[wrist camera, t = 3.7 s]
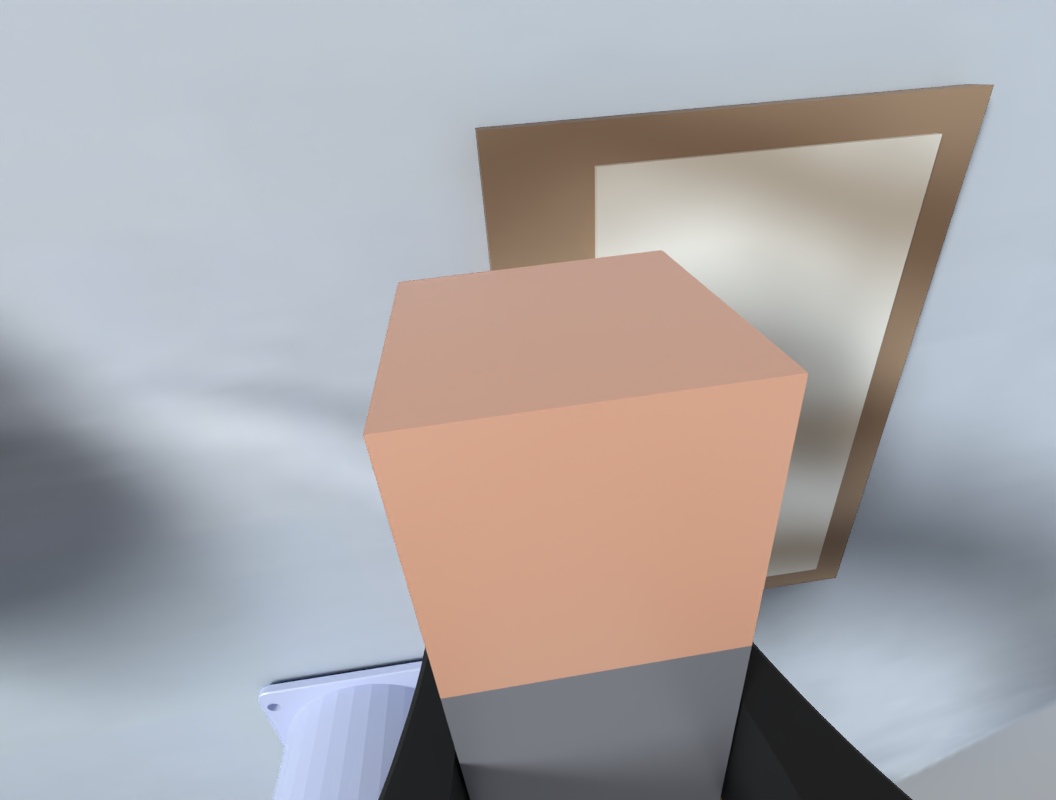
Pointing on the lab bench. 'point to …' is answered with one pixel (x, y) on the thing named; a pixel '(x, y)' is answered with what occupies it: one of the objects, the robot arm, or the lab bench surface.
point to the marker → (583, 517)
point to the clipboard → (765, 247)
